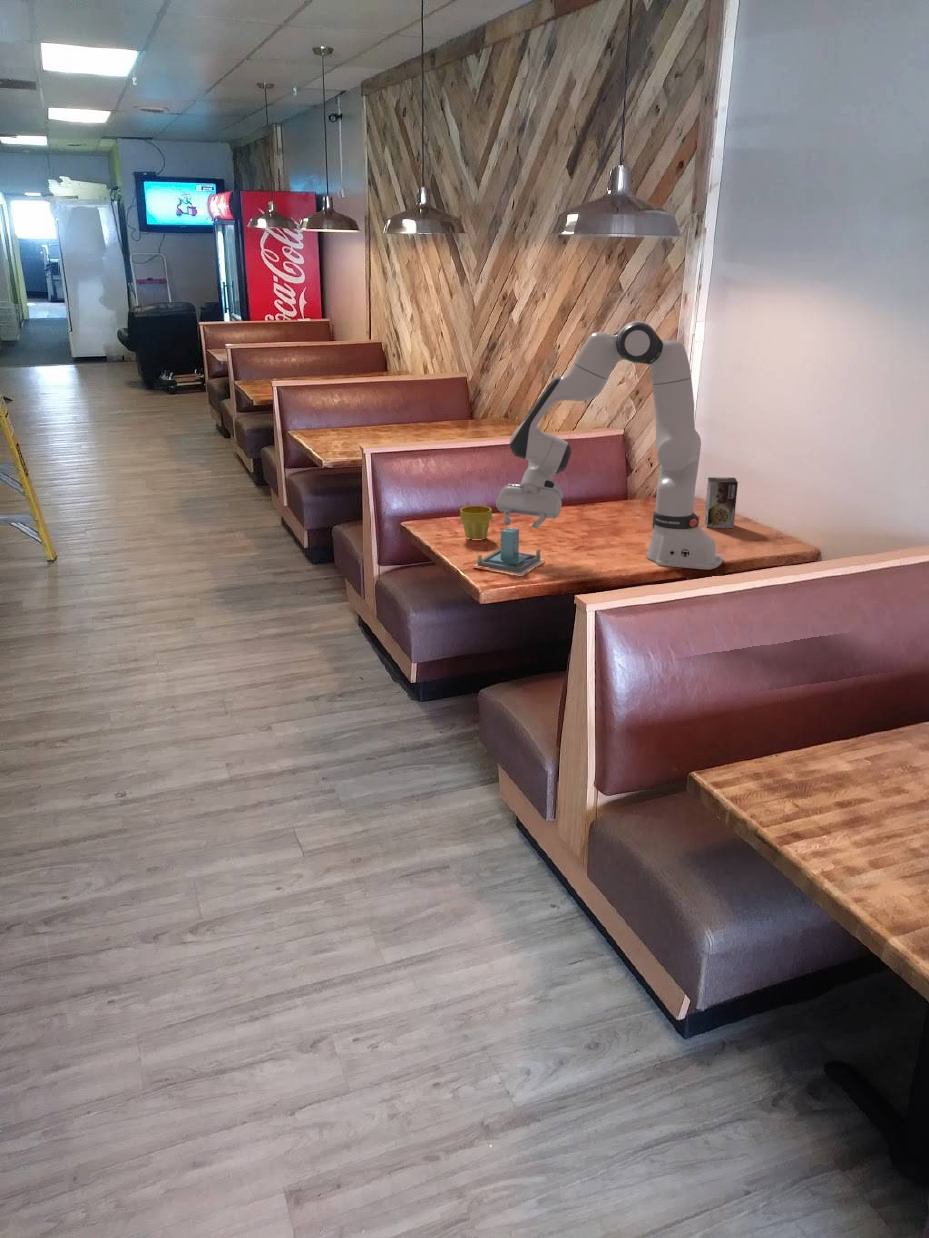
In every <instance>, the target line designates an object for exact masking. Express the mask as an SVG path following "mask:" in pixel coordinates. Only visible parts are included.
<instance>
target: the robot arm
mask: <svg viewBox="0 0 929 1238" xmlns="http://www.w3.org/2000/svg"><path fill="white" fill-rule="evenodd" d="M688 358H689V357H688V354H687V351H686V348H685V345H684V344H683V343H682V342H681V341H678V340H675V339H674V340H673V339H669V340H668V339H667V340H662V339H661V338H660V336H658V334H657V333H656V331H655V330H654V328H653V327H652V326H651V325H650V324H649V323H648V322H645V321H642V320H635V321H631V322H628V323H626V324H625V325H624V326H623V327H622V328H620V329H619V330H618V331H616V332H615V333H614V334H610V333H607V332H602V331H597V332H593V333H592V334H590V335H589V337H588V338H587V339H586V341H585V342H584V343H583V345H582V346H581V348H580V350H579V352H578V353H577V355H576V357H575V359H574V362H573V363H572V365H571V367H570V368H569V369H568V370H567V372H565V373H564V374H563V375H562V376H561V375H559V376H556V377H554V378H553V379H552V380H551V381H550V383H548V385H547V386H546V388H545V389H544V390H543V392H542V393H541V394H540V396H539V398H538V399H537V400H536V401H535V403H534V405H533V406H532V408H531V409H530V411H529V412H528V414H527V415H526V416H525V418H524V419H523V421H522V422H521V424H520V425H518V426H517V427H516V429H515V430H514V432H512V435H511V437H510V438H509V439H510V440H509V444H508V445H509V449H510V450H511V453H512V454H513V455H514V456H513V457H517V458H519V459H522V460H526V461H528V467H527V469H526V470H525V472H524V473H523V475H522V476H523V477H522V480H521V482H520V484H512V483H507V484H506V485H504V486H502V487H501V491H500V493H499V495H498V497H497V498H496V501H495V506H496V508H497V511H499V512H500V513H503V514H504V519H503V524H504V525H507V526H508V525H509V526H510V525H511V523H512V519H511V517H510V516H511V514H518V515H524V516H533V517H538V519H537V520H533V522H532V525H531V526H532V528H533V529H535V530H538V529H539V527H540V525H541V524H542V523H543V522H545V521H546V519H547V518H548V519H553V520H555V519H557V518H558V517H559V516H560V513H561V509H562V505H563V504H562V502H563V501H562V500H563V496H564V494H563V491H562V489H561V487H560V485H559V484H558V483H557V482H555V481H553V476H554V475H557V474H560V473H562V472H564V471H565V470H566V468H567V466H568V463H569V460H570V457H571V455H572V452H573V451H572V448H571V446H570V443H569V442H568V441H566V440H564V439H562V438H560V437H558V436H556V435H553V434H550V433H548V432H546V431H544V430H542V429H540V428H538V425H539V424H540V422H541V420H543V418H544V416H545V415H546V413H547V412H548V410H549V409H550V408H551V407H552V405H553V404H555V403H558V402H561V401H571V402H573V401H574V402H583V401H584V402H586V401H589V400H592V399H595V398H596V397H598V396H599V395H601V393H602V391H603V389H604V388H605V385H606V384H607V382H608V380H609V379H610V376H611V374H612V372H613V370H614V368H615V367H616V365H617V364H618V363H619V362H621V361H623V360H624V361H628V362H630V363H635V364H645V365H647V367H648V368H649V371H650V379H651V386H652V394H653V395H652V396H653V403H654V410H655V411H654V413H655V441H656V456H657V461H658V462H659V465H660V467H659V474H658V479H657V485H656V496H655V509H654V510H653V516H652V523H651V524H652V534H651V540H650V544H649V546H648V549H647V552H646V557H647V558H648V559H649V560H650V561H653V562H654V563H655V564H657V565H658V566H664V567H673V568H674V567H675V568H676V567H677V568H685V569H697V570H713V569H716V568H718V567H720V566H721V565H722V563H723V561H724V560H723V555H721V554H719V553H717V552H716V549H717V548H716V543H715V540H714V538H712V537H711V536H710V535H709V534H708V533H707V532H706V531H705V530H703V529H702V528H701V527H700V526H699V523H700V520H701V515H700V514H699V515H697V514H696V513H695V512H694V507H695V506H694V505H695V504H694V503H695V496H696V495H695V493H696V484H697V477H698V472H699V463H700V455H701V448H702V447H701V446H702V440H701V435H700V434H699V432H698V431H697V430H696V428H695V397H694V390H693V382H692V381H693V380H692V373H691V367H690V360H689V359H688Z"/></svg>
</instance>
